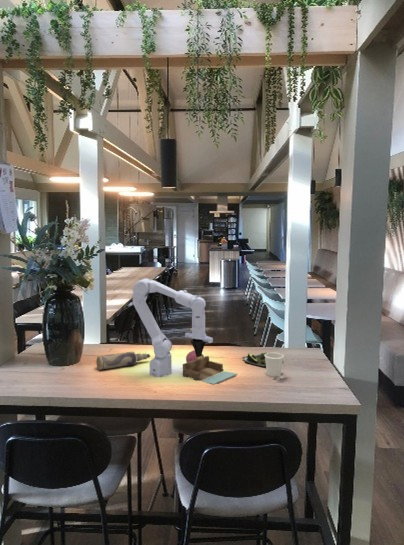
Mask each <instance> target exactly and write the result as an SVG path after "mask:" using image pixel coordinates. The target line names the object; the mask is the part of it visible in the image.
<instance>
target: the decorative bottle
mask: <svg viewBox="0 0 404 545" xmlns="http://www.w3.org/2000/svg"><path fill="white" fill-rule="evenodd" d="M150 358H151V355H150V353H136V352H135V351H127V352H118V353H111V354H104V355H97V356H96V360H95V361H96V362H95V363H96V368H97V370H98V371H102V370H107V369H109V370H110V369H114V368H115V369H116V368H121V367H127V366H132V365H133V366H135V365H136V364H137V363H138V362H141V361H144V360H147V359H150ZM133 366H132V367H133Z"/></svg>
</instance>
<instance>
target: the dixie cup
mask: <svg viewBox="0 0 404 545" xmlns="http://www.w3.org/2000/svg"><path fill="white" fill-rule="evenodd" d="M265 353H266V352H265ZM264 356H265V361H266V368H265V369H266V375H267V376H268V377H275V378H273V379H272V380H273V381H274V380H275V381H276V380H280V379H281V375H282V370H283V362H284V357H285V356H284V354H283V353H279V352H270V353H269V352H267V353H266V354H265V355H264Z"/></svg>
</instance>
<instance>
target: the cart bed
mask: <svg viewBox="0 0 404 545" xmlns="http://www.w3.org/2000/svg"><path fill="white" fill-rule="evenodd" d="M222 372H224V366H223V363H219V362H216V361H212V360H210V356H209V355H204V357H202V358H199V359H196V360H193V361H190V362H185V363H183V364H182V377H184V378H191V379H193V381H196V382H198V381H200V382H202V380H204V379H207V378H209V377H212V376H214V375H217V374H219V373H222Z"/></svg>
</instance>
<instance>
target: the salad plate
mask: <svg viewBox="0 0 404 545" xmlns="http://www.w3.org/2000/svg"><path fill="white" fill-rule="evenodd" d="M266 353H271V352H261V353H257V354H252V353H247V356H243V357H241V359H243V361H244V362H245V364H246V365H249V366H253V367H256V368H257V367H258V368H262V369H266V361H265V356H264V355H265V354H266Z"/></svg>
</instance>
